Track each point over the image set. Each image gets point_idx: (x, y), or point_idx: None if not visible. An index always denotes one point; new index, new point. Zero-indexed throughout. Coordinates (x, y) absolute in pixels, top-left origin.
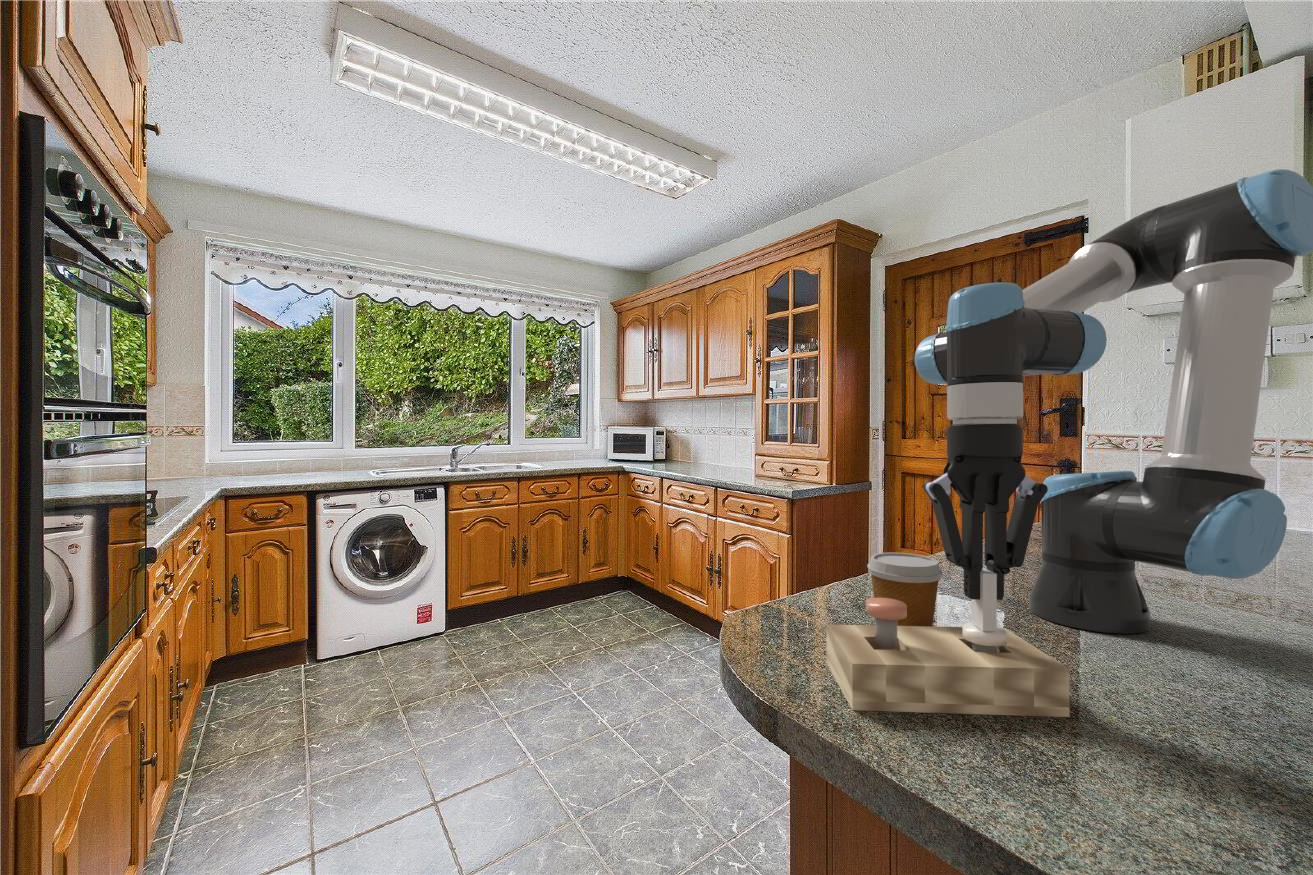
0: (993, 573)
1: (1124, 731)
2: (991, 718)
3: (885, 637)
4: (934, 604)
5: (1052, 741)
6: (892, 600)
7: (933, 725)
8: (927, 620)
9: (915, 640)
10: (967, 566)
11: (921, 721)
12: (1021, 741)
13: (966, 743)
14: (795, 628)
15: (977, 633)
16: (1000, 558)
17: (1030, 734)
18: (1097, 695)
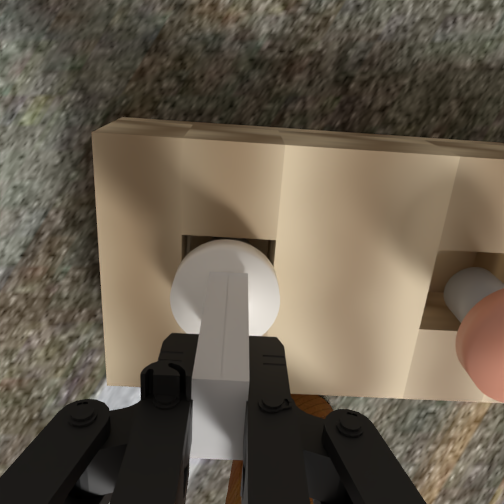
0: (201, 384)
1: (41, 57)
2: (290, 113)
3: (500, 282)
4: (240, 483)
5: (220, 16)
6: (491, 380)
7: (430, 84)
8: None
9: (385, 310)
10: (304, 419)
11: (445, 101)
12: (285, 16)
13: (406, 8)
14: (475, 498)
15: (266, 266)
16: (161, 432)
17: (249, 45)
18: (4, 211)
